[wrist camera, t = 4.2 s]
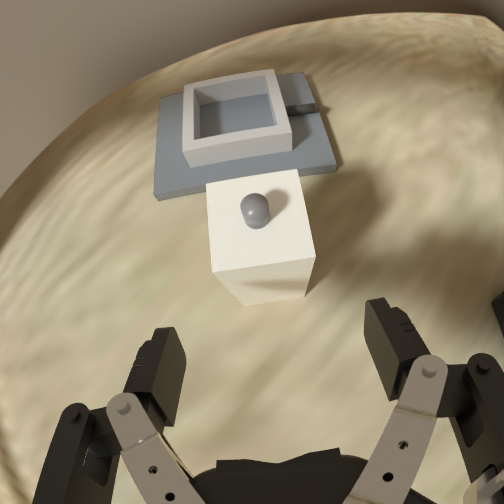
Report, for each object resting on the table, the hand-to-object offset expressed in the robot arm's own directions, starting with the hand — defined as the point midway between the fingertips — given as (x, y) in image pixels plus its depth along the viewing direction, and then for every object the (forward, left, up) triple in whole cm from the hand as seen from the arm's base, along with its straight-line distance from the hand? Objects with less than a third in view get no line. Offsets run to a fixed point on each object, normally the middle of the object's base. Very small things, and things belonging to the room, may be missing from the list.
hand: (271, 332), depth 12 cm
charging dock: (-1, +20, -10) cm, 22 cm away
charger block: (0, +5, -10) cm, 11 cm away
